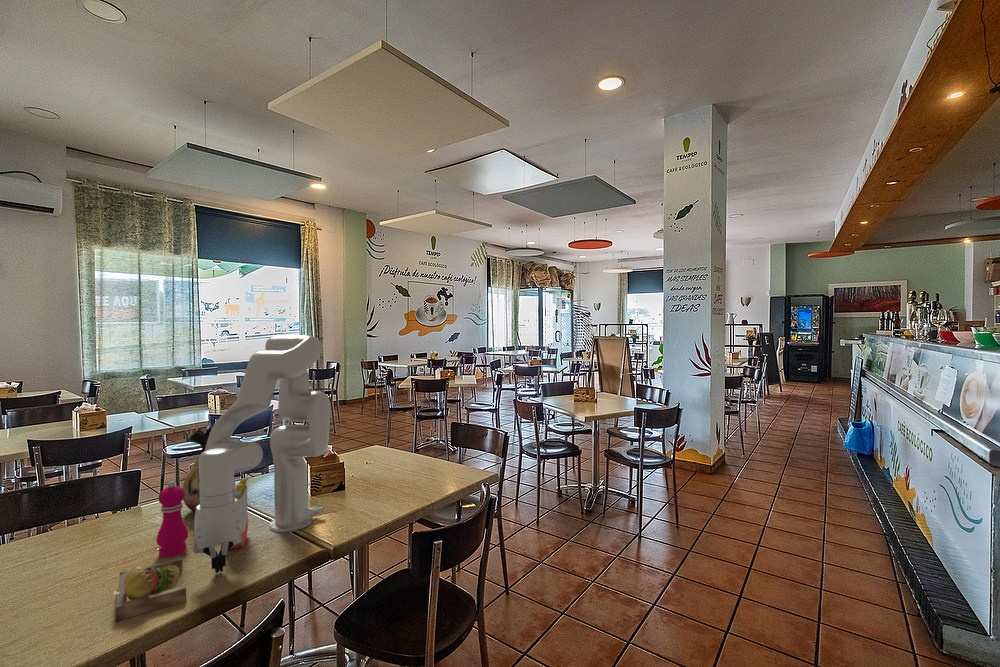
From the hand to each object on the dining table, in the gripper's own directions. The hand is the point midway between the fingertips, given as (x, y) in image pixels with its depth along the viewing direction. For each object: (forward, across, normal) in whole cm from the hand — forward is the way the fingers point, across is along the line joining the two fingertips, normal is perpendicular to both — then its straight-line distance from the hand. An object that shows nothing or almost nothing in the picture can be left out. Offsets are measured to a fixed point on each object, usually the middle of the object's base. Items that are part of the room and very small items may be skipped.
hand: (218, 570), depth 120 cm
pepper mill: (+1, +9, -21) cm, 23 cm away
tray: (+1, +13, 0) cm, 13 cm away
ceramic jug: (+1, -3, -48) cm, 48 cm away
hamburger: (-1, +9, +1) cm, 9 cm away
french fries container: (+1, -6, -16) cm, 17 cm away
